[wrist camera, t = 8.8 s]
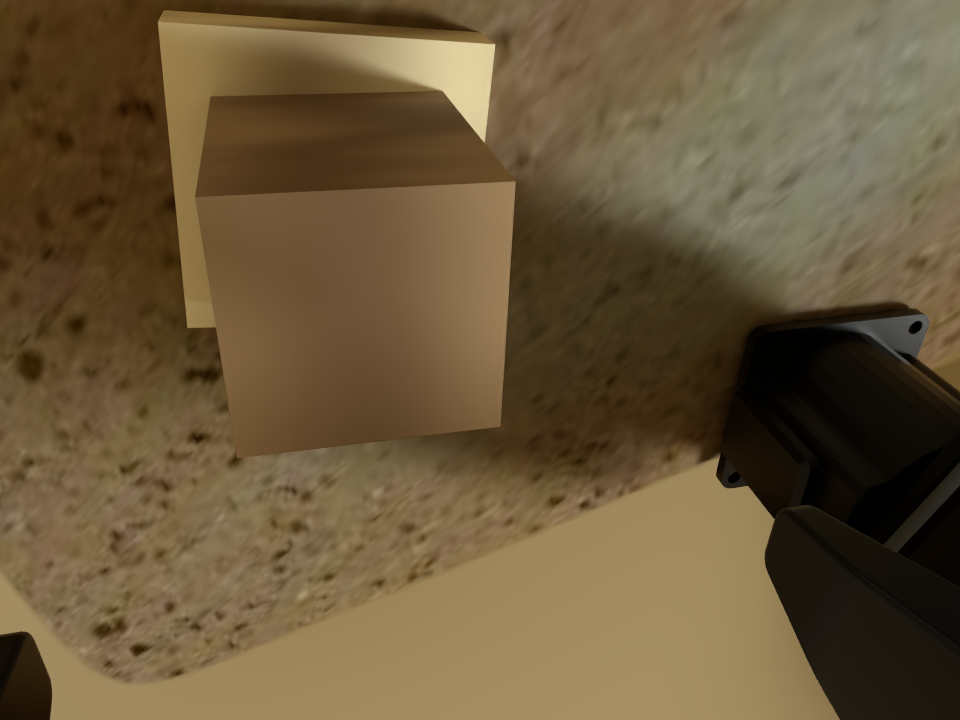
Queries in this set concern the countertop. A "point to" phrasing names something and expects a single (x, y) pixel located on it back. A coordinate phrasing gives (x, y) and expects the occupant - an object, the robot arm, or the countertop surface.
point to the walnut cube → (354, 267)
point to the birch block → (295, 89)
